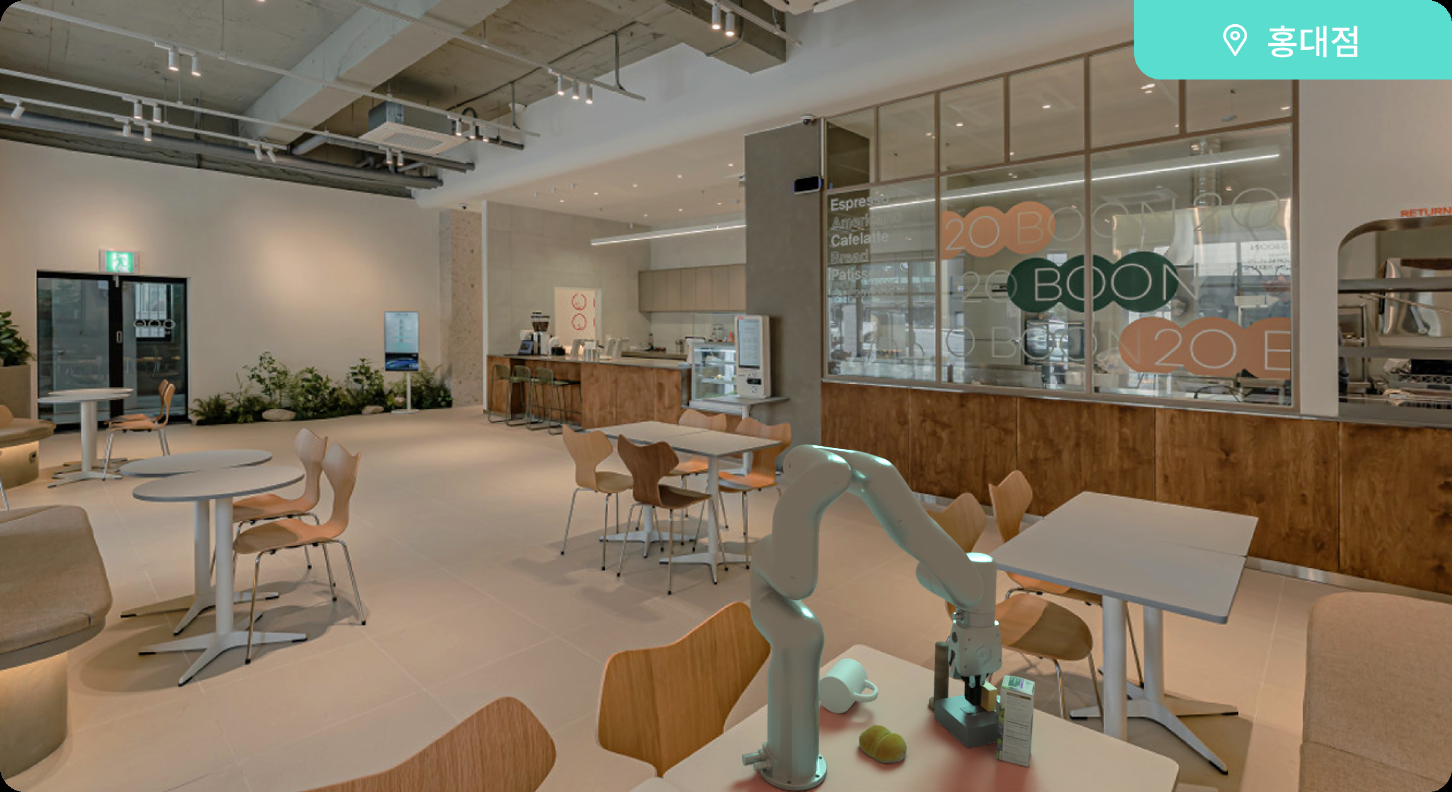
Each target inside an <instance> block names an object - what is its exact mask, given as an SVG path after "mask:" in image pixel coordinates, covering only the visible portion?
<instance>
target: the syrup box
mask: <svg viewBox="0 0 1452 792" xmlns="http://www.w3.org/2000/svg"><path fill="white" fill-rule="evenodd" d="M1035 686H1036V682H1035V681H1032V680H1030V679H1026V678H1023V677H1019V676H1013V675H1006V674H1004V675H1003V678H1002V683H1001V687H1000V692H999V694H1000V695H999V696H1000V707H999V724H998V742H996V743H997V746H996V759H997V760H999V761H1004V762H1007V763H1011V764H1015V765H1020V766H1023V767H1026V768H1029V767H1030V761H1031V753H1032V752H1031V751H1032V741H1033V728H1034V727H1033V726H1034V725H1033V722H1034V707H1035V705H1034V704H1035V688H1036V687H1035Z"/></svg>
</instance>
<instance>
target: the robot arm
mask: <svg viewBox="0 0 1452 792" xmlns="http://www.w3.org/2000/svg"><path fill="white" fill-rule="evenodd" d="M782 463H783V464H782V470H783V474H784V477H785V478H786V480H787V481H788V482H789V485H788V486H787V487H786V488H785V490H784V491H783V492H782V494H781V495H780V496H779V498H778V500H777V502H776V504H775V506H774V509H773V510H774V511H773V514H772V524H771V525H772V526H771V533H769V534H766V535H765V536H763V537H762V538H761V539H759V541H757V543H756V544H755V546H754V548H753V551H752V553H751V557H750V567H749V568H750V570H749V573H750V574H749V575H750V577H749V586H750V587H749V599H750V600H749V606H750V607H749V608H750V609H749V610H750V616H751V620H752V623H753V625H754V626H755V628H756V630H758V632H759V633H760V634H761V636H763V637H764V639H765V640H766V641H767V642H768V643H769V644H770V647H771V658H770V662H769V665H768V669H767V679H766V681H767V683H766V684H767V687H766V688H767V713H766V714H767V715H766V716H767V725H766V729H767V731H766V732H767V738H766V739H767V740H766V741H764V742H762V743H761V746H762V747H761V748H759V749H757V751H755V752H749V753H743V754H741V761H742V764H743V767H747V766H752V768H753V771H754V772H759V773H760V775H761V777H762V778H763V779H764V781H766V782H767V783H769V784H771V786H774V787H776V788H778V789H782V790H787V791H797V792H798V791H805V790H809V789H813V788H815V787H817V786H819V785H820V784H821V783H822V782H823V781H824V780H825V779H826V777H827V775H828V774H827V773H828V764H827V761H826V759H825V757H824V756H823V755H822V754H821V753H820V700H819V681H820V676H821V675H820V673H821V661H822V656H823V653H824V647H825V640H826V639H825V638H826V637H825V635H826V634H825V630H824V626H823V624H822V622H821V620H820V619H819V617H818V615H816V613H815V612H814V611H813V610H812V609H811V608H810V607H808V605H806V604H805V603H804V602H802V601H803V600H806V599H808V598H809V597H811V596H812V595H813V594H814V592H815V590H816V588H817V587H818V583H819V565H820V564H819V562H820V560H819V559H820V557H819V553H820V552H819V551H820V545H819V544H820V541H819V540H820V539H819V538H820V528H821V527H820V526H821V522H822V519H823V516H824V514H825V512H827V510H828V508H830V506H831V505H832V504H834V503H835V502H836V501H837V500H839V499H840V498H841V497H842V496H843V495H844V494H845V493H846V492H847V493H850V494H851V495H852V494H853V495H854V496H856V497H858V498H860V499H861V500H862V502H863V503H864V504H865V505H866V506H867V508H868V509H869V510H870V512H871V513H872V515H873V516H874V518H875V519H876V520H877V522H878V523H879V525H880V526H881V528H882V529H883V530H884V532H885V533H886V535H887V536H888V538H889V539H891V541H892V542H893V543H895V544H896V545H897V546H898V547H899V548H901V549H902V550H903V551H904V552H906V553H907V554H908V555H910V556H911V557H913V558H914V559H915V560H917V561H918V563H917V564H916V568H915V577H916V579H917V581H918V583H919V584H920V585H921V586H922V587H923V588H924V589H925V590H927V591H929V592H930V593H932V594H934V595H936V596H937V597H939V598H941V599H943V600H945V601H946V602H948V603H949V604H951V605H953V606H955V612H952V613H951V618H952V620H953V621H952V626H951V629H950V635H949V641H948V644H949V650H948V663H949V677H950V678H952V679H953V680H960V681H962V682H963V683H964V690H963V691H964V692H963V693H964V694H963V695H964V696H965V700H967V701H968V702H969V703H970V704H972V705H973V706H976V705H981V697H982V686H983V685H984V684H985V680H986V681H987V678H988V677H989V676H990V675H991V674H994V673H996V672H998V671H1000V670H1001V669H1002V666H1003V642H1002V641H1003V640H1002V634H1001V629H1000V625H999V621H997V620H996V610H997V609H996V605H997V577H998V574H997V573H998V572H997V571H998V568H997V566H998V565H997V561H996V560H995V558H993V557H992V556H990V555H989V554H986V553H982V552H975V551H974V552H965V551H964V549H963V548H962V547H961V546H960V545H959V544H958V542H956V541H955V540H954V539H953V537H952V536H950V535H949V534H948V533H947V532H946V531H945V530H944V529H943V527H942V526H940V525H939V523H938V522H937V521H935V519H934V518H933V517H931V516H930V514H929V513H928V512H927V511H926V509H925V508H924V506H923V505H922V504H921V502H920V501H919V499H918V498H917V496H916V495H915V494H914V492H913V491H912V489H911V488H910V486H909V485H908V483H907V481H906V480H905V479H904V478H903V476H902V475H901V472H899V470H898V469H897V467H896V466H895V465H894V464H893V463H891V462H890V461H889V460H887V459H885V458H883V457H879V456H877V455H874V454H870V453H868V452H864V451H859V450H850V449H841V448H834V447H826V446H820V445H814V444H799V445H796V446H794V447H793V448H792V449H790V450H789V451H788V452H787V454H786V455H785V457H784V458H783V462H782Z"/></svg>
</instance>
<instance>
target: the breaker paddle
mask: <svg viewBox="0 0 1452 792" xmlns="http://www.w3.org/2000/svg"><path fill="white" fill-rule="evenodd" d="M997 695H998V688H997V687H995V686H994V685H992V683H990V682H989V681H987V679H986V680H985V684H984V685H983V686H982V697H981V706H982V707H983V708H984V709H986V710H987V711H988V712H989V711H994V710H996V700H997Z"/></svg>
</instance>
